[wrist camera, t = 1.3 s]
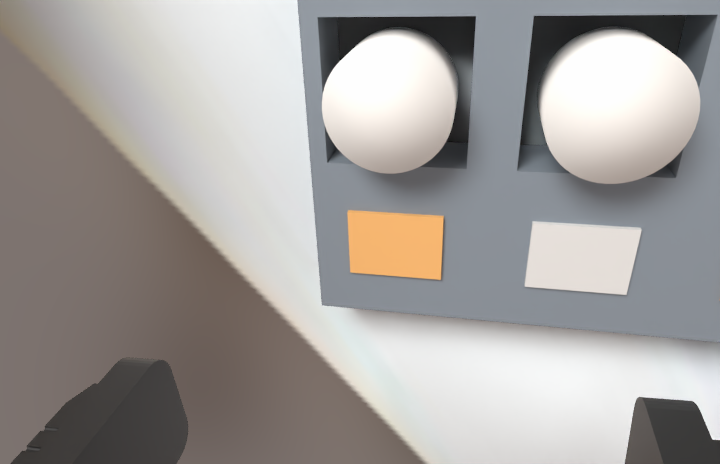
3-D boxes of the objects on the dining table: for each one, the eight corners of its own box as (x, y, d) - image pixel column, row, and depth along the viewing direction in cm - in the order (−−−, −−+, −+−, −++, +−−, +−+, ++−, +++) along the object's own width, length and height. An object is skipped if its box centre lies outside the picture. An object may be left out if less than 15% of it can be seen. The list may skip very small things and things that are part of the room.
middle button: (530, 150, 22) (536, 180, 19) (544, 26, 20) (553, 42, 17) (657, 154, 21) (680, 187, 19) (687, 26, 19) (718, 42, 16)
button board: (336, 271, 29) (320, 307, 26) (314, -84, 21) (288, -85, 19) (819, 310, 25) (860, 358, 22) (1005, -113, 17) (1104, -119, 14)
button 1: (343, 143, 23) (326, 170, 21) (338, 27, 21) (317, 42, 19) (455, 147, 23) (451, 176, 20) (461, 26, 20) (457, 42, 18)
